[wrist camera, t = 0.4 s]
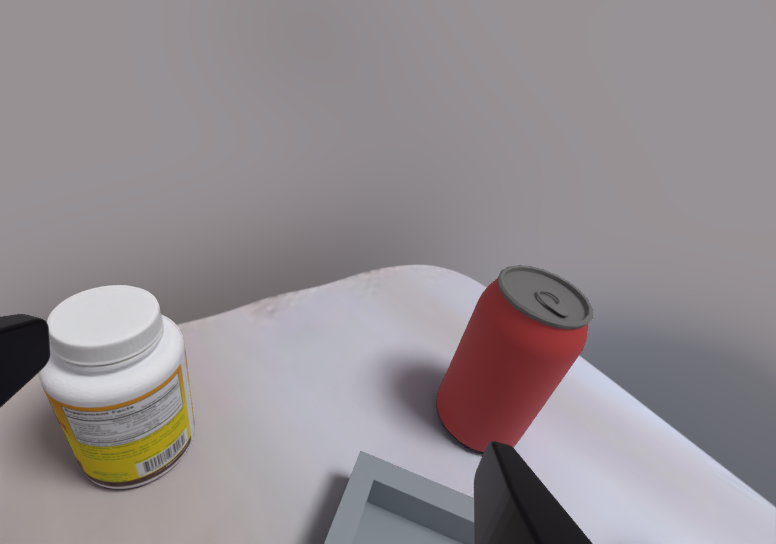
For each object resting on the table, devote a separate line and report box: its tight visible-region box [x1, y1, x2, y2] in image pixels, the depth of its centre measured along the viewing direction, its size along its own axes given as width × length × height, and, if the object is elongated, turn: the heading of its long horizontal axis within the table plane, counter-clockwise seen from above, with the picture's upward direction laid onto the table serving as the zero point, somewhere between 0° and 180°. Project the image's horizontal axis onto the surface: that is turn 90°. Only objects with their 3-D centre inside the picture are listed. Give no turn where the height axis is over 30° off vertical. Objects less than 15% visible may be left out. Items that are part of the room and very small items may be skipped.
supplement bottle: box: [39, 285, 194, 489], centre depth 19 cm, size 6×6×10 cm
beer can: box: [437, 265, 593, 452], centre depth 25 cm, size 7×7×12 cm
